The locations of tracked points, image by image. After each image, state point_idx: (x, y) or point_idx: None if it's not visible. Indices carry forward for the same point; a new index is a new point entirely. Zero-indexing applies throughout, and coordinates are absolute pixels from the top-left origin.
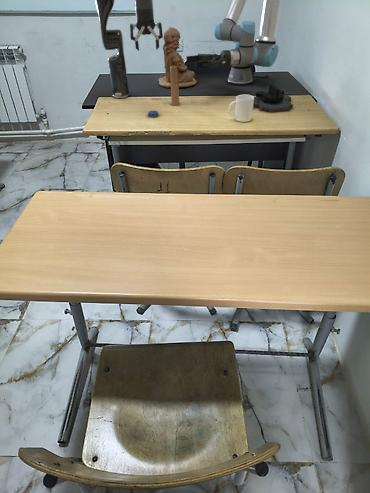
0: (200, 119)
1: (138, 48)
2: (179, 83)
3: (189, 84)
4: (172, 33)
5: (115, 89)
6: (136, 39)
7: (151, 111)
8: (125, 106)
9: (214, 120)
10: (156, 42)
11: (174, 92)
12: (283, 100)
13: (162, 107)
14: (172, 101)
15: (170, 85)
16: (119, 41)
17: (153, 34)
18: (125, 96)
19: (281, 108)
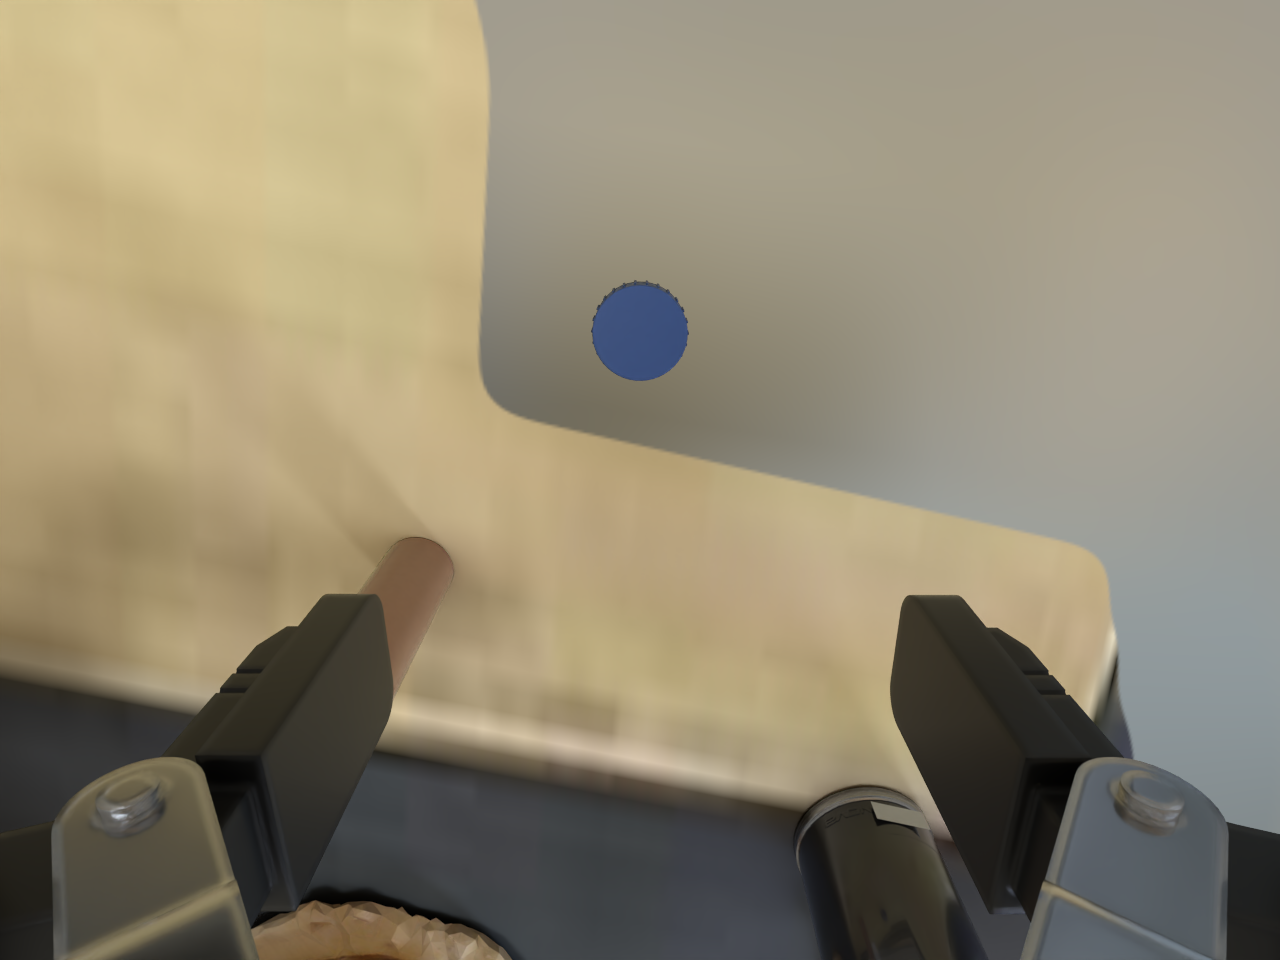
0: (176, 110)
1: (941, 619)
2: (362, 949)
3: (279, 923)
4: None
5: (931, 855)
6: (1154, 805)
7: (653, 357)
8: (861, 610)
9: (26, 43)
10: (273, 702)
11: (386, 594)
12: None
13: (539, 517)
14: (436, 565)
15: (442, 939)
16: None
17: (203, 943)
18: (835, 801)
19: None
